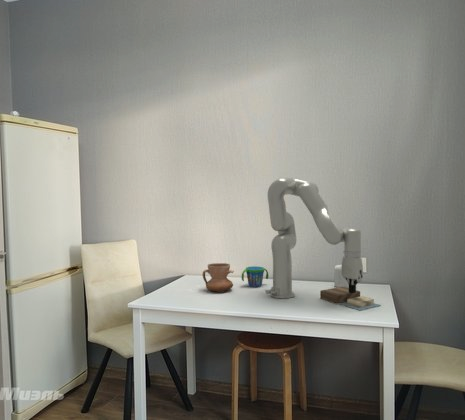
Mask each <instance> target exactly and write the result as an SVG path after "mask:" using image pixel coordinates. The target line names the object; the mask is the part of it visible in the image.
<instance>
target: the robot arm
mask: <svg viewBox="0 0 465 420" xmlns="http://www.w3.org/2000/svg"><path fill="white" fill-rule="evenodd" d="M319 192H320V191H319V187H318V185H317V184H316V183H314V182H312V181H306V180H305V181H304V180H303V179H302V180H300V179H296V178H292V177H280V178H278V179H276V180H274V181H273V182H272V183H271V184H269V187H268V189H267V204H268V211H269V212H268V213H269V219H270V220H269V221H270V226H271V227H272V230H274V231H275V232H277V233H278V234H277V235H275V236H274V237H273V239H272V240H271V254H272V282H273V283H272V286H271V288H269V289H266V290H264V292H265V294H267V295H268V294H269V296H270V297H272V298H276V299H290V298H291V299H292V298H294V297H295V296H296V293H295V292H294V291H293V288H292V287H293V276H292V275H293V274H292V273H293V269H292V267H293V265H292V264H293V263H292V253H291V250H292V249H294V248H295V247H296V246H297V233H296V226H295V220H294V217H293V216H292V214H291V213H290V212H287V209H286V208H287V207H286V201H285V199H284V197H285V195H286V196H287V195H290V196H296V197H299V198H300V200H301V201H302V202H303V203H304V206H305V207H306V209H307V210H308V211H309V213H310V214H311V216H312V219H313V221H314V223H315V225H316V228H317V229H318V231H319V233H320V234H321V235H322V237H323V238H324V239H325V241H326V242H327V243H328V244H330V245H331V246H332V245H333V246H334V245H338V244H339V243H343V246H344V247H343V248H344V249H343V254H344V255H343V256H342V260H341V265H342V267H341V275H342V277H343V278H344V279H346V280H347V282H348V284H349V293H356V290H357V285H358V284H359V283H362V281H363V278H364V277H363V276H364V269H363V268H364V266H363V260H362V253H361V252H362V250H361V249H362V248H361V247H362V246H361V245H362V243H361V242H362V240H361V239H362V238H361V237H362V232H361V231H362V230H361V229H359V228H355V227H352V228H351V227H350V228H345V227H340V226H339V227H337V226H336V225H335V224H334V222H333V221H332V219H331V217H330V214H329V208H328V205H327V204H326V202H325V201H324V200H323V198H322V197H321V195H320V194H319Z"/></svg>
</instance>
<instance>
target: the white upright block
mask: <svg viewBox="0 0 465 420" xmlns="http://www.w3.org/2000/svg"><path fill="white" fill-rule="evenodd" d="M341 267H342V264H337V265H335V266H334V275H333V276H334V283H333V285H334V288H337V287H346V288H349V284H348V282H347V280H346V279H344V278H343V277H342V275H341Z"/></svg>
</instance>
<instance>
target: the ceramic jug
mask: <svg viewBox="0 0 465 420" xmlns="http://www.w3.org/2000/svg"><path fill="white" fill-rule="evenodd" d="M230 268H231V264H230V263H227V262H222V263H219V262H218V263H217V262H214V263H208V264H207V269H204V270H203V271H202V279H203V281H204V283H205V287H206V289H207V290H209V291H210V292H215V293H223V292H224V293H225V292H227V291H230V290H231V289H232V288H233V286H234V283H233V281H232V280H230V279H229V278H227V277H228V275H229V274H230V273H231V274H233V273H234V272H235V271H234V270H233V269H230ZM206 273H208V274H209V275H210V277H211V278H210V279H209V280H208V281H207V278H206Z"/></svg>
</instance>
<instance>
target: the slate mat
mask: <svg viewBox="0 0 465 420" xmlns="http://www.w3.org/2000/svg"><path fill="white" fill-rule="evenodd" d="M338 305H341V306H344V307H346V308H350V309H353V310H356V311H365V310H369V309H374V308H377V307H378V308H379V307H381V306H382V305H381V304H378V303H376V302H374V304H373V305H369V306H365V307H360V308H358V307H354V306H351V305H348V304H347V302H343V303H339V304H338Z"/></svg>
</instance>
